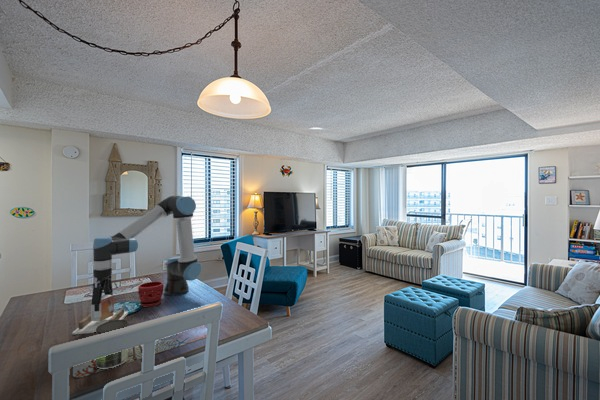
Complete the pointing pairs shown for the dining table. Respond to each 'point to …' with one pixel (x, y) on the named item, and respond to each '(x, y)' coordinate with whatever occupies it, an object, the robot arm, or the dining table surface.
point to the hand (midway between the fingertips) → (102, 312)
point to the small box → (104, 308)
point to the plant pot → (150, 293)
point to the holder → (91, 326)
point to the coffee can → (118, 357)
